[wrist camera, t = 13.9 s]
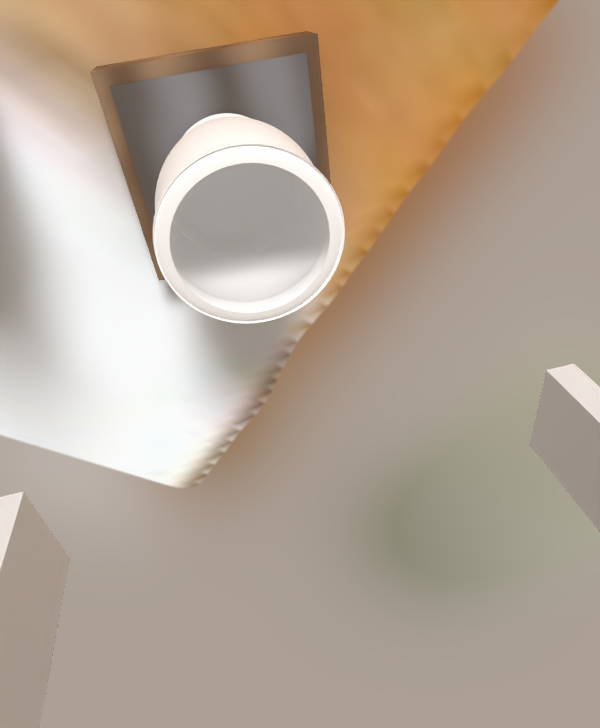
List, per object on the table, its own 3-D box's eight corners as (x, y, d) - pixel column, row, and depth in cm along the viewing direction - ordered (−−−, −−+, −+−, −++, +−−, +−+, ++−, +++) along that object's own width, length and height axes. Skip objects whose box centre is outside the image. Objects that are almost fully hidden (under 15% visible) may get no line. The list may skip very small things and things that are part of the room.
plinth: (160, 263, 47) (158, 282, 44) (96, 66, 37) (89, 72, 34) (326, 229, 48) (337, 245, 45) (306, 31, 39) (318, 34, 36)
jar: (288, 87, 37) (342, 129, 25) (300, 223, 43) (348, 308, 31) (142, 107, 36) (126, 160, 24) (176, 243, 42) (177, 340, 30)
